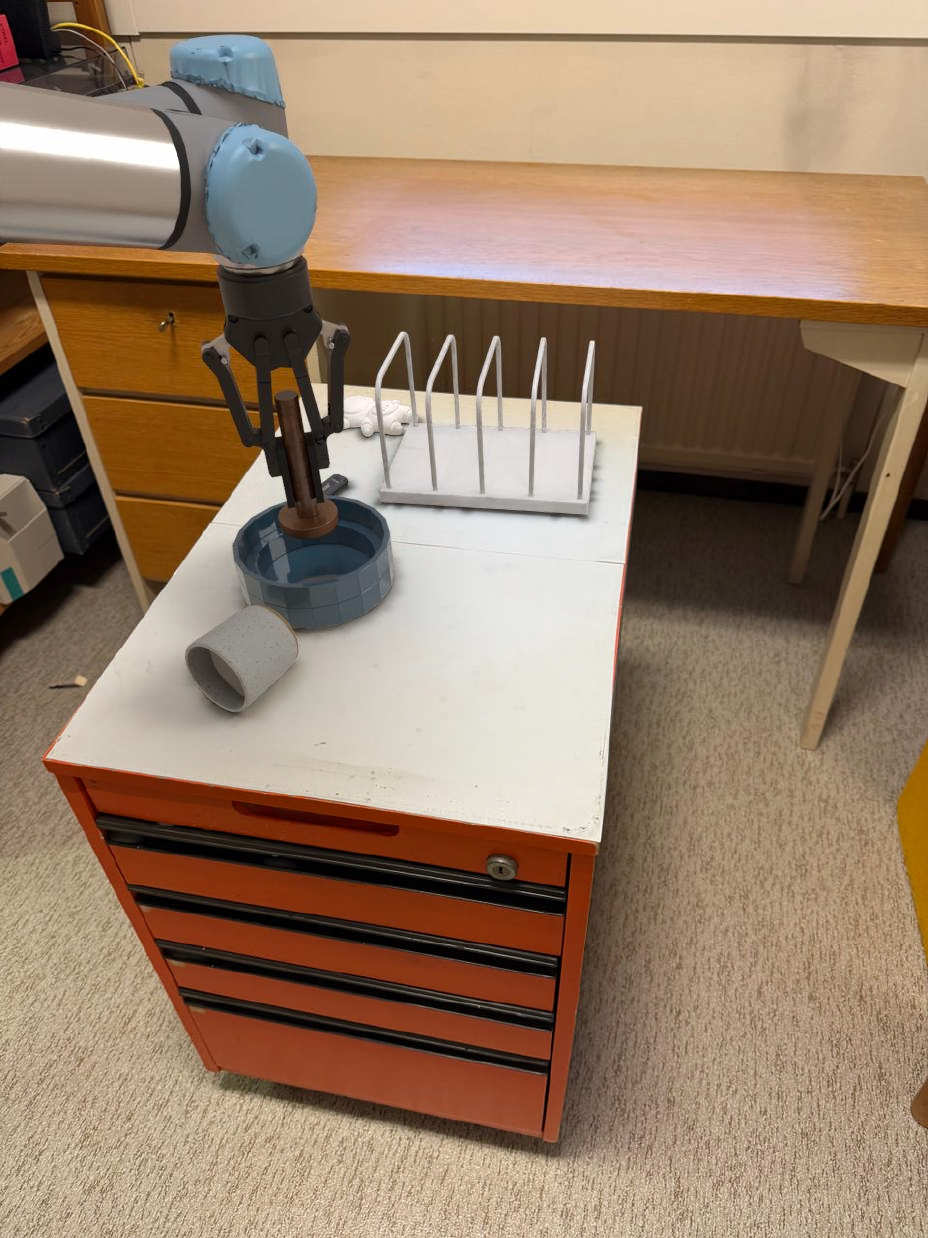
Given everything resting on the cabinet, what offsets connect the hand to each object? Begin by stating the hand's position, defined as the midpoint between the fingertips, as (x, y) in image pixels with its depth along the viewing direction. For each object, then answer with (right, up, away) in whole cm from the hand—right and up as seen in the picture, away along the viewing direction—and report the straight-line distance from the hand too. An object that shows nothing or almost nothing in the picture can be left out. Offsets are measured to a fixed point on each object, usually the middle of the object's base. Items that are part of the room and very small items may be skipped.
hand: (304, 497), depth 89 cm
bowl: (0, -8, +7) cm, 11 cm away
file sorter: (+20, +6, +23) cm, 31 cm away
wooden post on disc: (0, -2, +2) cm, 3 cm away
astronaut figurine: (+3, +15, +34) cm, 38 cm away
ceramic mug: (-6, -18, -4) cm, 19 cm away
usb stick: (-2, +2, +19) cm, 20 cm away
